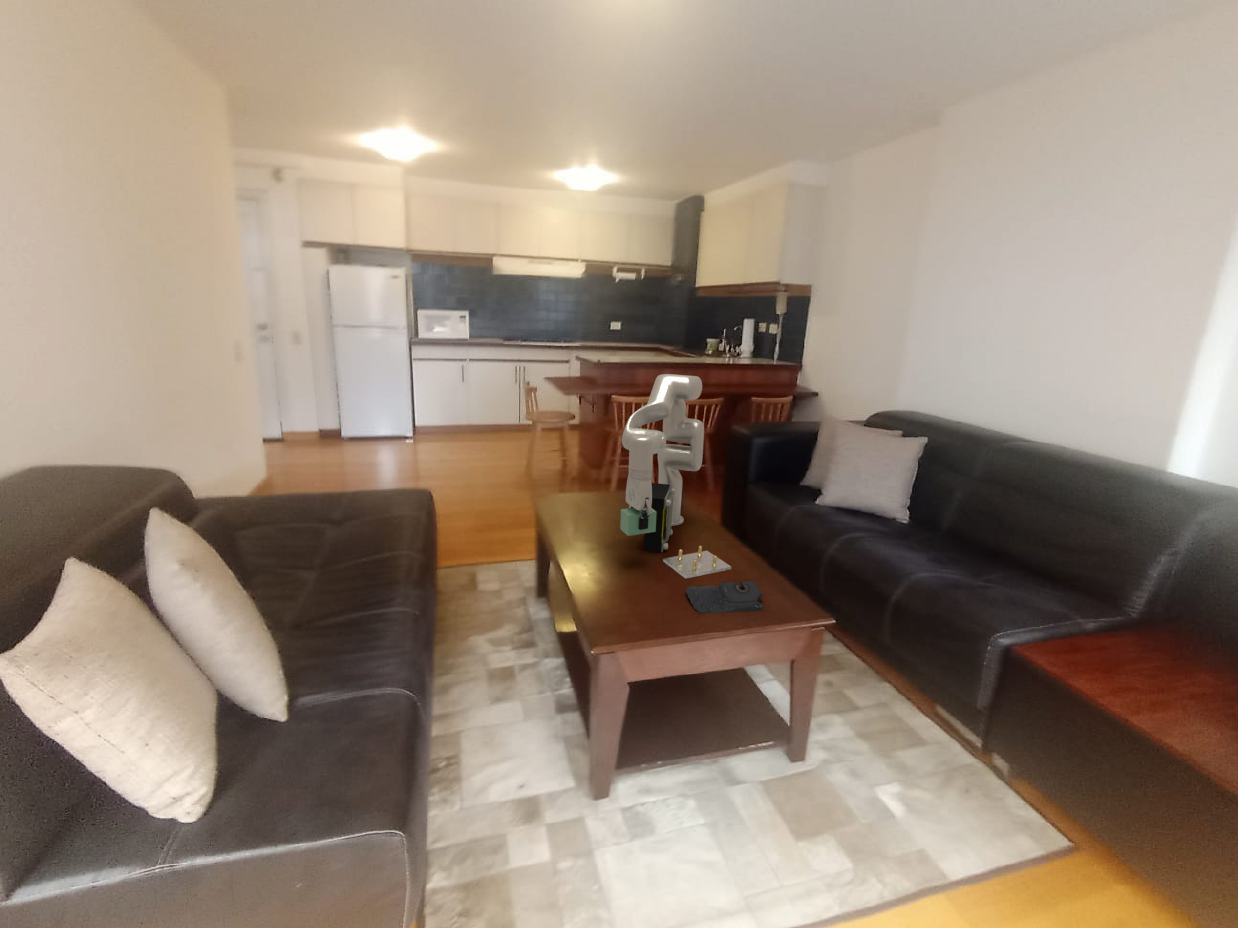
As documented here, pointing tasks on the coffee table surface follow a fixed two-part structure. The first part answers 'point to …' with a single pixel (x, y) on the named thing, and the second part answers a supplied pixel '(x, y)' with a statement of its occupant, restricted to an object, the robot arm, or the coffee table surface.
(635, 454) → the robot arm
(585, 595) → the coffee table surface
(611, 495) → the coffee table surface
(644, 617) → the coffee table surface
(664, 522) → the electrical component
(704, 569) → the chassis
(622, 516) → the green block
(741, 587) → the dark slate chunk
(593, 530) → the coffee table surface
